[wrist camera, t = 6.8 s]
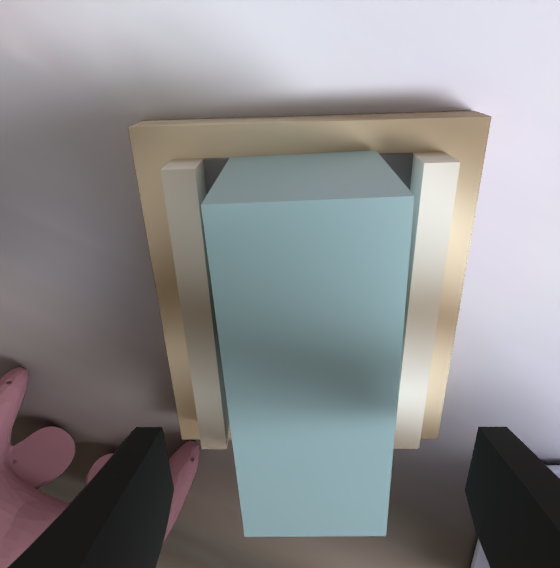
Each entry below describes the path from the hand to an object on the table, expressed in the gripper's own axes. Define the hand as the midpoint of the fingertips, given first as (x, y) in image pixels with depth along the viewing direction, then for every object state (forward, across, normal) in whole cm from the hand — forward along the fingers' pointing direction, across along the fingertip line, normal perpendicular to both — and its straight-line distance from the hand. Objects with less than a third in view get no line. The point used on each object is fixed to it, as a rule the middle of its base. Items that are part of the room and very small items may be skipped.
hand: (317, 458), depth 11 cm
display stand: (+8, 0, 0) cm, 9 cm away
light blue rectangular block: (+7, 0, 0) cm, 7 cm away
